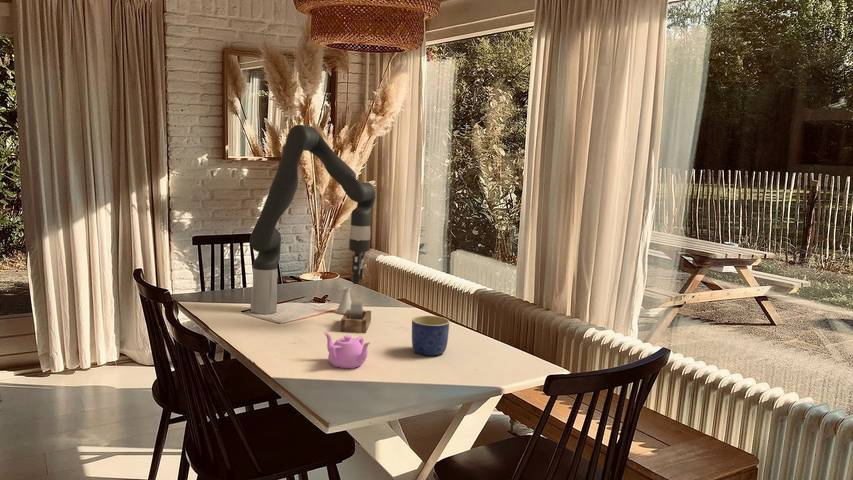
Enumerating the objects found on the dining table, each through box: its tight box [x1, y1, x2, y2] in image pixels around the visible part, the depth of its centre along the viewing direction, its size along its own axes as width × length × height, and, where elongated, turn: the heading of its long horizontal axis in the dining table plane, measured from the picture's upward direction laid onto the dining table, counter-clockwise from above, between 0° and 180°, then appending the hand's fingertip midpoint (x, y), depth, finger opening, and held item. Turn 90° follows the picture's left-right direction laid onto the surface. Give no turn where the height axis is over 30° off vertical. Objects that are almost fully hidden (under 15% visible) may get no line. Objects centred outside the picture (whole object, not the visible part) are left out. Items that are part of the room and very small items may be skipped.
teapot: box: [323, 331, 371, 369], centre depth 217 cm, size 12×14×9 cm
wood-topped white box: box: [350, 301, 364, 320], centre depth 259 cm, size 4×4×9 cm
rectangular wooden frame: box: [340, 309, 372, 334], centre depth 259 cm, size 9×15×4 cm, turn 177°
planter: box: [411, 315, 450, 356], centre depth 233 cm, size 12×12×11 cm
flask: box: [336, 286, 353, 315], centre depth 279 cm, size 7×7×10 cm
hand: (357, 281), depth 257 cm, fingers open, 8 cm apart
